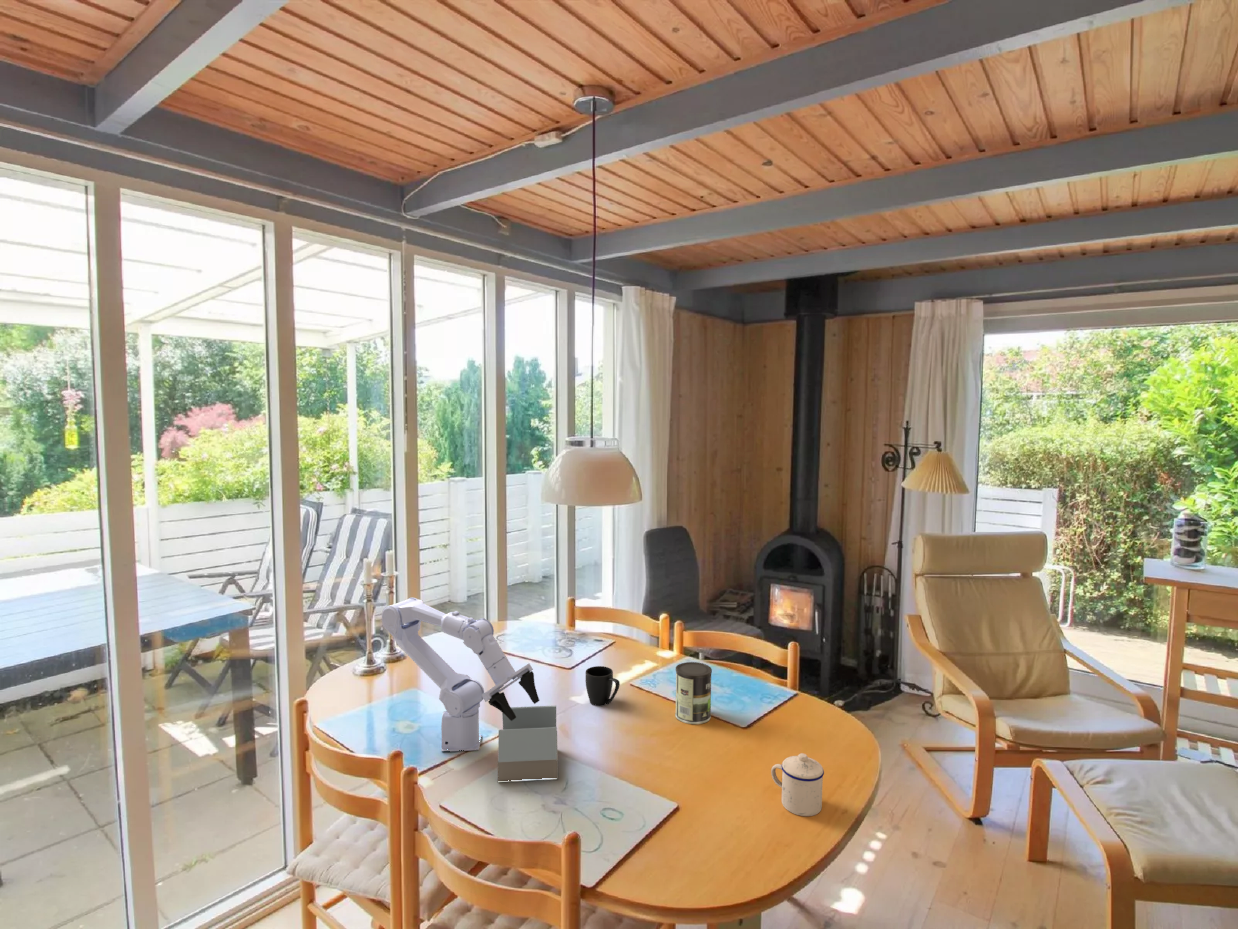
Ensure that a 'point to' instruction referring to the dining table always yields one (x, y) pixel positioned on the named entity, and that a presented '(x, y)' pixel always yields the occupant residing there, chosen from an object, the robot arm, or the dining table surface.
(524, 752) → the near flap
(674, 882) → the dining table surface
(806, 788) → the teacup with lid
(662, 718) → the dining table surface
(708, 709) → the coffee can
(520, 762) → the carton
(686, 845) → the dining table surface
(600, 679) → the mug
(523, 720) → the far flap
